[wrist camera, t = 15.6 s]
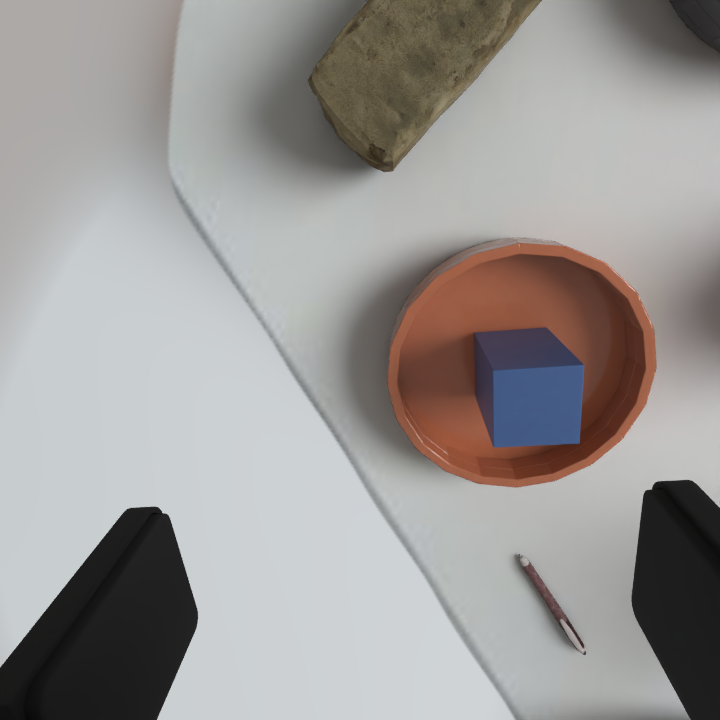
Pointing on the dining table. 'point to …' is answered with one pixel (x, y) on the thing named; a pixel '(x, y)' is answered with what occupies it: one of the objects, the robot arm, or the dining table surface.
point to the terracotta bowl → (510, 312)
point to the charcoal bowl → (701, 18)
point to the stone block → (407, 68)
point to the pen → (552, 605)
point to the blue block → (528, 387)
